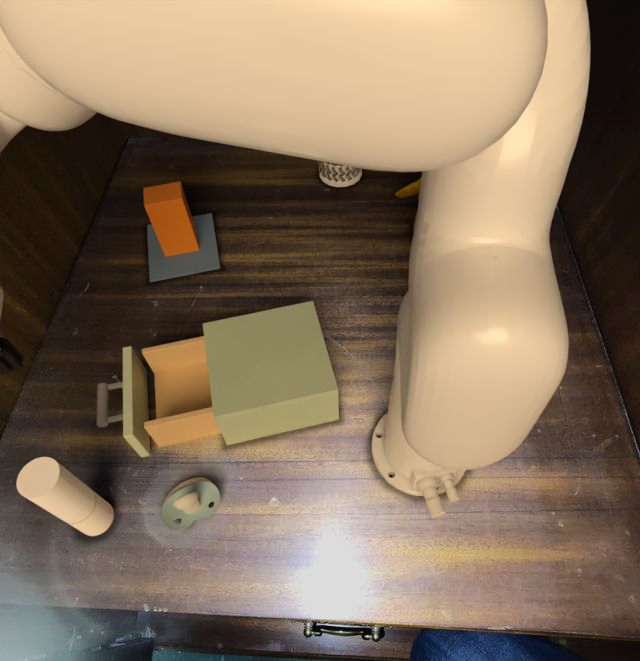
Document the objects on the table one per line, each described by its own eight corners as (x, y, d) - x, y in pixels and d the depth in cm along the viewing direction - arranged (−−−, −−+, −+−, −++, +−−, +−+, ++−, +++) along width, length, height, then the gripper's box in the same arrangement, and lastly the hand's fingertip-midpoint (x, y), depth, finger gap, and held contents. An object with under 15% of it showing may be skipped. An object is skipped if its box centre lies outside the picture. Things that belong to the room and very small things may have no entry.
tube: (116, 500, 66) (64, 455, 54) (110, 535, 64) (53, 497, 51) (83, 501, 66) (23, 457, 54) (75, 536, 64) (10, 499, 51)
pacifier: (158, 496, 66) (172, 539, 63) (142, 478, 61) (156, 524, 58) (212, 470, 68) (228, 511, 65) (200, 450, 63) (217, 493, 60)
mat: (220, 268, 88) (220, 267, 88) (150, 282, 87) (149, 280, 87) (212, 214, 96) (211, 212, 96) (147, 226, 95) (146, 224, 95)
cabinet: (227, 445, 70) (213, 417, 63) (215, 356, 78) (202, 323, 71) (339, 419, 71) (338, 389, 64) (316, 335, 79) (313, 300, 72)
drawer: (109, 465, 68) (87, 444, 62) (110, 379, 75) (91, 354, 70) (249, 433, 70) (240, 410, 64) (236, 352, 77) (227, 325, 72)
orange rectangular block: (199, 250, 91) (182, 198, 81) (165, 257, 90) (143, 205, 80) (197, 233, 93) (180, 181, 84) (164, 239, 92) (143, 187, 83)
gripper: (-77, 313, 39) (38, 418, 54) (-43, 187, 48) (49, 309, 63) (-183, 332, 38) (-37, 434, 53) (-129, 202, 47) (-16, 321, 62)
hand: (9, 366), depth 58 cm, fingers closed
